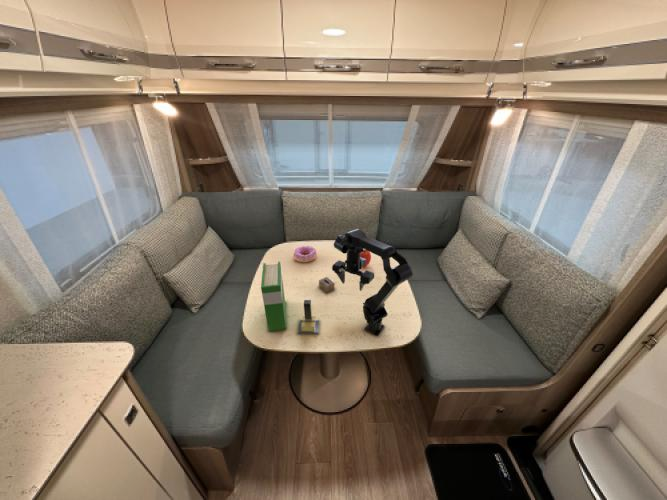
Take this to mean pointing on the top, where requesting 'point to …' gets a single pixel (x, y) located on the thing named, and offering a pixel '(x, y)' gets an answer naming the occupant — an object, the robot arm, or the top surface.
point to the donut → (305, 250)
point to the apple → (366, 257)
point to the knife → (307, 311)
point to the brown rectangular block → (326, 284)
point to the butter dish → (309, 326)
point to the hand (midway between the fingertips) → (352, 286)
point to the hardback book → (273, 296)
